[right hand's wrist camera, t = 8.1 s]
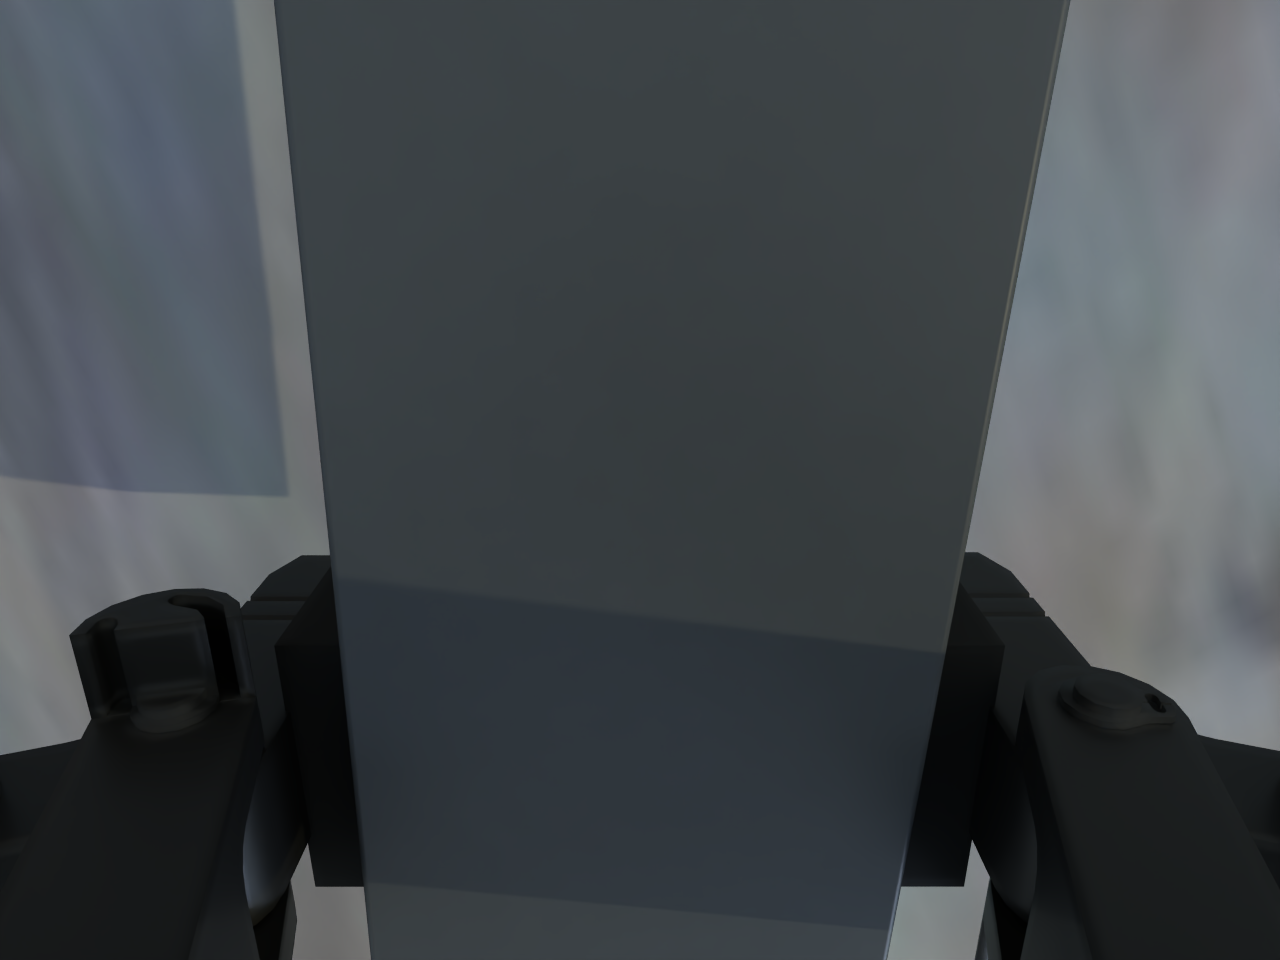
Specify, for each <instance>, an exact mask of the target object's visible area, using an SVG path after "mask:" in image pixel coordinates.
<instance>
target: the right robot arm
mask: <svg viewBox="0 0 1280 960" xmlns="http://www.w3.org/2000/svg"><path fill="white" fill-rule="evenodd" d="M69 636H70V640H71V644H72V648H73V651H74V655H75V659H76V663H77V666H78V670H79V674H80V678H81V681H82V685H83V689H84V693H85V696H86V700H87V704H88V708H89V711H90V715H91V721H90V723H89V725H88V727H87V729H86V730H85V732H84V734H83V736H82V738H81V739H79V740H75V741H71V742H67V743H62V744H57V745H52V746H47V747H41V748H36V749H31V750H26V751H20V752H15V753H10V754H5V755H0V960H292V955H293V947H294V940H295V932H296V925H297V916H296V909H295V902H294V896H293V891H292V885H291V878H292V875H293V873H294V871H295V869H296V867H297V865H298V863H299V861H300V858H301V856H302V854H303V852H304V850H305V848H306V846H307V843H308V846H309V852H310V857H311V863H312V869H313V875H314V881H315V887H364V884H363V874H362V864H361V854H360V844H359V834H358V824H357V814H356V805H355V795H354V785H353V775H352V765H351V755H350V745H349V736H348V726H347V716H346V706H345V696H344V686H343V676H342V667H341V657H340V647H339V637H338V627H337V617H336V607H335V597H334V588H333V578H332V568H331V558H330V555H302V556H300V557H298V558H297V559H295V560H293V561H291V562H290V563H288V564H286V565H285V566H283V567H281V568H279V569H278V570H276V571H274V572H273V573H271V574H269V575H268V577H267V578H266V579H265V580H264V581H263V583H262V584H261V585H260V586H259V587H258V589H257V590H256V591H255V592H254V593H253V594H252V596H251V601H247V602H246V603H245V604H244V605H243V606H242V608H241V609H240V603H239V602H238V601H237V600H235V599H234V598H232V597H231V596H230V595H228V594H227V593H223V592H219V591H214V590H209V589H204V588H202V589H173V590H167V591H162V592H156V593H151V594H145V595H141V596H138V597H135V598H132V599H129V600H126V601H123V602H121V603H118V604H115V605H112V606H110V607H108V608H106V609H104V610H102V611H101V612H99V613H97V614H95V615H93V616H91V617H90V618H88V619H86V620H85V621H84V622H83V623H82V624H81V625H80V626H79V627H77V628H76V629H75V630H74V631H73V632H72V633H71V634H70V635H69ZM972 840H973V842H974V844H975V846H976V849H977V851H978V853H979V855H980V857H981V859H982V861H983V863H984V866H985V868H986V870H987V872H988V874H989V876H990V880H989V885H988V891H987V896H986V902H985V907H984V912H983V918H982V923H981V929H980V934H979V940H978V945H977V950H976V956H975V960H1280V751H1276V750H1271V749H1266V748H1260V747H1255V746H1250V745H1245V744H1239V743H1234V742H1229V741H1223V740H1218V739H1213V738H1209V737H1205V736H1201V735H1198V734H1197V733H1196V731H1195V729H1194V727H1193V725H1192V723H1191V721H1190V719H1189V718H1188V716H1187V715H1186V714H1185V713H1184V712H1183V711H1182V709H1181V708H1180V707H1179V706H1178V705H1177V704H1176V702H1175V701H1174V700H1173V699H1171V698H1169V697H1168V696H1166V695H1165V694H1163V693H1162V692H1160V691H1159V690H1157V689H1156V688H1154V687H1152V686H1151V685H1149V684H1147V683H1144V682H1142V681H1139V680H1137V679H1134V678H1132V677H1129V676H1127V675H1124V674H1122V673H1119V672H1115V671H1110V670H1105V669H1101V668H1096V667H1092V666H1090V665H1089V663H1088V662H1087V661H1086V660H1085V659H1084V657H1083V656H1082V655H1081V654H1080V653H1079V652H1078V650H1077V649H1076V648H1075V647H1074V646H1073V644H1072V643H1071V642H1070V641H1069V640H1068V639H1067V637H1066V636H1065V635H1064V634H1063V633H1062V631H1061V630H1060V629H1059V628H1058V627H1057V626H1056V624H1055V623H1054V622H1053V621H1052V620H1051V618H1050V617H1045V611H1044V610H1043V609H1042V608H1041V607H1040V605H1039V604H1038V603H1037V602H1036V601H1035V599H1034V598H1030V597H1029V592H1028V591H1027V590H1026V589H1025V588H1024V586H1023V585H1022V584H1021V583H1020V582H1019V581H1018V579H1017V578H1016V577H1015V576H1014V575H1013V573H1012V572H1011V571H1009V570H1008V569H1006V568H1004V567H1002V566H1001V565H999V564H997V563H996V562H994V561H992V560H990V559H989V558H987V557H985V556H984V555H982V554H980V553H978V552H965V554H964V559H963V564H962V570H961V575H960V580H959V585H958V591H957V596H956V601H955V606H954V612H953V617H952V622H951V627H950V632H949V638H948V643H947V648H946V653H945V659H944V664H943V669H942V674H941V680H940V685H939V690H938V695H937V700H936V706H935V711H934V716H933V721H932V727H931V732H930V737H929V742H928V748H927V753H926V758H925V763H924V768H923V774H922V779H921V784H920V789H919V795H918V800H917V805H916V810H915V816H914V821H913V826H912V831H911V836H910V842H909V847H908V852H907V857H906V863H905V868H904V873H903V878H902V884H901V886H954V887H964V883H965V877H966V871H967V866H968V860H969V854H970V848H971V842H972Z"/></svg>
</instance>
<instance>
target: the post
mask: <svg viewBox="0 0 1280 960" xmlns="http://www.w3.org/2000/svg"><path fill="white" fill-rule="evenodd" d="M1069 5H1070V0H274V6H275V16H276V25H277V35H278V45H279V55H280V65H281V75H282V85H283V94H284V104H285V114H286V124H287V134H288V144H289V154H290V164H291V173H292V183H293V193H294V203H295V213H296V223H297V233H298V242H299V252H300V262H301V272H302V282H303V292H304V302H305V311H306V321H307V331H308V341H309V351H310V361H311V371H312V381H313V390H314V400H315V410H316V420H317V430H318V440H319V450H320V459H321V469H322V479H323V489H324V499H325V509H326V519H327V528H328V538H329V548H330V558H331V568H332V578H333V588H334V597H335V607H336V617H337V627H338V637H339V647H340V657H341V667H342V676H343V686H344V696H345V706H346V716H347V726H348V736H349V745H350V755H351V765H352V775H353V785H354V795H355V805H356V814H357V824H358V834H359V844H360V854H361V864H362V874H363V884H364V893H365V903H366V913H367V923H368V933H369V943H370V953H371V960H887V957H888V951H889V946H890V941H891V936H892V931H893V925H894V920H895V915H896V910H897V904H898V899H899V894H900V889H901V884H902V878H903V873H904V868H905V863H906V857H907V852H908V847H909V842H910V836H911V831H912V826H913V821H914V816H915V810H916V805H917V800H918V795H919V789H920V784H921V779H922V774H923V768H924V763H925V758H926V753H927V748H928V742H929V737H930V732H931V727H932V721H933V716H934V711H935V706H936V700H937V695H938V690H939V685H940V680H941V674H942V669H943V664H944V659H945V653H946V648H947V643H948V638H949V632H950V627H951V622H952V617H953V612H954V606H955V601H956V596H957V591H958V585H959V580H960V575H961V570H962V564H963V559H964V554H965V549H966V544H967V538H968V533H969V528H970V523H971V517H972V512H973V507H974V502H975V496H976V491H977V486H978V481H979V476H980V470H981V465H982V460H983V455H984V449H985V444H986V439H987V434H988V428H989V423H990V418H991V413H992V408H993V402H994V397H995V392H996V387H997V381H998V376H999V371H1000V366H1001V360H1002V355H1003V350H1004V345H1005V340H1006V334H1007V329H1008V324H1009V319H1010V313H1011V308H1012V303H1013V298H1014V292H1015V287H1016V282H1017V277H1018V272H1019V266H1020V261H1021V256H1022V251H1023V245H1024V240H1025V235H1026V230H1027V224H1028V219H1029V214H1030V209H1031V204H1032V198H1033V193H1034V188H1035V183H1036V177H1037V172H1038V167H1039V162H1040V156H1041V151H1042V146H1043V141H1044V136H1045V130H1046V125H1047V120H1048V115H1049V109H1050V104H1051V99H1052V94H1053V88H1054V83H1055V78H1056V73H1057V68H1058V62H1059V57H1060V52H1061V47H1062V41H1063V36H1064V31H1065V26H1066V20H1067V15H1068V10H1069Z"/></svg>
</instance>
